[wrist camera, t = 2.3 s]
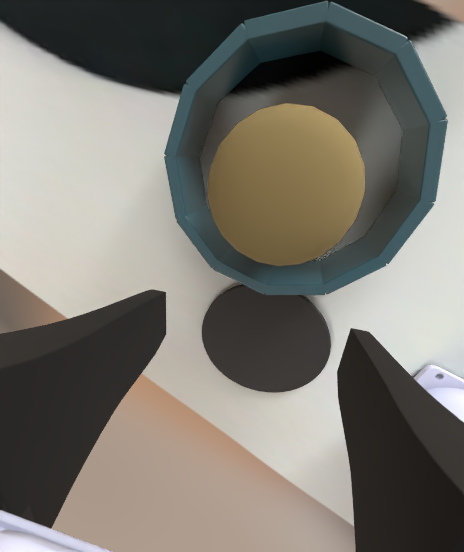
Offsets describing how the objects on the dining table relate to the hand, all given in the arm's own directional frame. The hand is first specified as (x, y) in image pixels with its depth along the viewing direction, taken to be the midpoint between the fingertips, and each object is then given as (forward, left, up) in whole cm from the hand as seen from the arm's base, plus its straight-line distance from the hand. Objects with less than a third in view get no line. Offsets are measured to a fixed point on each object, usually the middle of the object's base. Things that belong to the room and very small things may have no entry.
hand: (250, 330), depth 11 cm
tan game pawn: (+1, -5, -11) cm, 12 cm away
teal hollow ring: (+1, -5, -10) cm, 12 cm away
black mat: (-3, +8, -10) cm, 13 cm away
